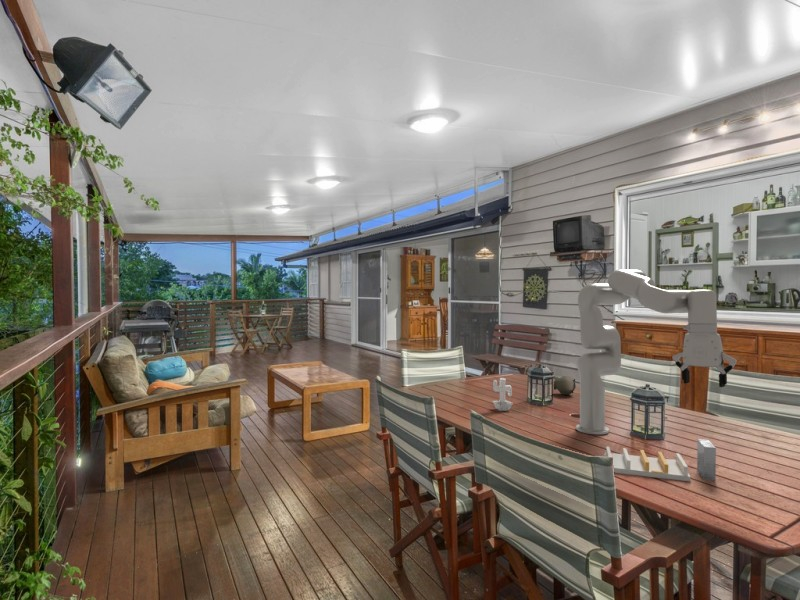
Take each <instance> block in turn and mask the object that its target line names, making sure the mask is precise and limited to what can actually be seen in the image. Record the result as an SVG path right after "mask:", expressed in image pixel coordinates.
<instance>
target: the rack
mask: <svg viewBox="0 0 800 600" xmlns="http://www.w3.org/2000/svg"><path fill="white" fill-rule="evenodd" d="M663 454H664V453H662V451H657V457H651V456H650V457H649V456H647V455H646V453H645V450H644V449H639V455H632V454H629V453H628V449H627V447H626V448H625V447H623V448H622V454H621V453H614V452H613V453H612V451H611V447H610V446H605V452H604V454H603V455H604V456H608V457H613V465H614V472H615V473H614V474H621V475H622V474H624V475H630V476H639V477H647V478H656V479H657V478H659V479H664V480H666V479H667V480H676V481H684V482H691V478H692V477H691V475H690V473H689V466H688V464H687V463H686V462H685V460H684V458H683V457H682V455H681V453H677V452H676V453H675V459H672V458H671V459H670V458H665V456H664V455H663ZM604 456H603V457H604Z"/></svg>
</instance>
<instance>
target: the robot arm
mask: <svg viewBox="0 0 800 600" xmlns="http://www.w3.org/2000/svg"><path fill="white" fill-rule="evenodd" d="M631 298H632V299H635V300H637V301H638V303H639V304H640V305H641V306H643V307H645V308H647V309H649V310H652V311H655V312H658V313H662V314H687V324H686V325H683V327H682V329H683V330H686V331H687V333H685V335H684V339H683V346H682V347H683V348H682V351H681V352H678V353H676V354H673V355H672V356H671V357H672V359H673V361H674V363H675V365H676V366H677V367H678V369H680V371H681V379H682V381H683V384H686V385H687V384H689V383H690V382H691V379H690V378H691V377H690V369H689V368H690V367H701V368H702V367H703V368H716V369H717V370H718V372H719V374H718V387H719V388H724V387H726V385H727V384H728V378H727V375H728V373H730V372H731V370H732V369H734V367H735V366H736V364H737V362H738V360H737V359H736V358H734V357H732V356H730V355H728V354H727V353H724V349H723V348H724V347H723V342H722V338H721V334H719V333H718V318H717V317H718V311H717V293H716V291H715V290H712V289H693V290H692V289H691V290H689V289H663V288H659V287H656V282H655V281H654V280H653V278H651V277H648V276H647V274H646V273H645V272H643V271H642V270H639V269H624V268H623V269H622V268H621V269H616V270H614V271H612V272H611V273H609V275H608V276H607V282H606V283H603V282H602V283H600V282H599V283H598V282H597V283H591V284H590V283H589V284H586V285H584V286H583V287H582V288H581V289H580V291H579V292H578V295H577V304H578V311H579V316H580V317H579V319H580V321H579V322H580V324H579V325H580V328H579V329H580V343H581V346H582V347H583V348H585V350H601V352H597V351H596V352H588V353H586V352H585V353H583V354H582V355H580V356H579V357H578V359H577V362H576V363H577V364H576V366H577V372H578V377H579V378H578V379H579V423H578V424H576V425H575V430H577V431H578V432H580V433H583V434H586V435H587V434H588V435H595V436H596V435H600V436H601V435H607V434H609V433H610V428H609V427H608V426H606V387H605V384H604V383H605V382H603V380H602V378H601V377H602V376H603V377H604V376H612V375H617V374H618V373H619V371H620V370H621V366H622V349H621V348H622V346H621V345H622V343H621V336H620V333H619V331H618V330H617V328H616V327H614V326H612V325H604V319H603V318H604V316H603V313H602V311H601V309H600V308H599V306H601V305H602V306H603V305H605V306H607V305H609V306H610V305H611V306H612V305H613V306H615V305H621V304H623V303H625V302H627V301H629V300H630V299H631ZM680 358H682V361H681V360H680ZM724 361H727V362H728V365H727V366H724V363H725V362H724Z"/></svg>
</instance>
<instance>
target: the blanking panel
mask: <svg viewBox="0 0 800 600" xmlns="http://www.w3.org/2000/svg"><path fill="white" fill-rule="evenodd" d="M696 442H697V443H696V445H697V446H696V448H697V449H696V452H697V456H696V458H697V459H696V461H697V462H696V464H697V465H696V466H697V467H696V471H697V472H698V473H699V475H700V476H701V478H702V479H703V480H704V481H712V482H716V479H717V478H716V477H717V475H716V474H717V473H716V472H717V470H716V467H717V466H716V462H717V457H716V456H717V455H716V454H717V451H716V450H717V447H716V446H715V445H714V444H713V443H712V442H711V441H710V440H709V439H704V438H703V439H702V438H697V441H696Z"/></svg>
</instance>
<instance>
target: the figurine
mask: <svg viewBox="0 0 800 600" xmlns="http://www.w3.org/2000/svg"><path fill="white" fill-rule="evenodd" d="M506 380H507V379H506V378H504V377H499V383H498V381H497V379H494V380H493V381H492V390H493V391H494V392H495V393H498V392H499V399H498V400H492V403H493V405H494V407H495V409H496V410H498V411H500V412H504V411H505V412H507V411H510V409H511V408H512V406H513V405H514V403H513V402H511V401H509V400H507V399H506V392H507V396H508V397H512V395H513V388H512V386H511V384H506ZM498 384H499V385H498Z"/></svg>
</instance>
